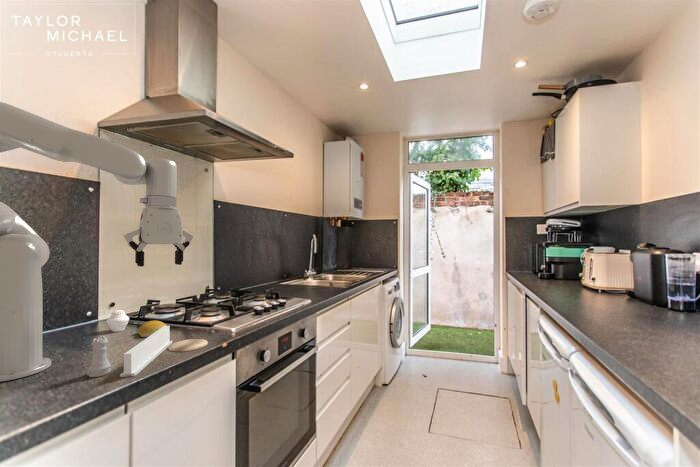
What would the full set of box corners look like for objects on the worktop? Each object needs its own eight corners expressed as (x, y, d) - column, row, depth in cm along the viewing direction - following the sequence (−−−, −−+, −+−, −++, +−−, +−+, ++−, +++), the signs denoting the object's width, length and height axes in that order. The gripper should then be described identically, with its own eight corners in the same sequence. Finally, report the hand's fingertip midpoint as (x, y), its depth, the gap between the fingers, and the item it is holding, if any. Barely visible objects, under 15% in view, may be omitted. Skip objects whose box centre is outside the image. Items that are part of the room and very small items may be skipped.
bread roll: (141, 339, 102) (141, 326, 102) (136, 333, 108) (136, 321, 108) (171, 334, 107) (171, 321, 107) (165, 328, 114) (165, 316, 114)
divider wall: (120, 377, 74) (120, 354, 74) (161, 343, 97) (161, 326, 97) (135, 376, 74) (135, 353, 74) (172, 342, 98) (172, 325, 98)
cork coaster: (162, 353, 89) (162, 351, 89) (175, 341, 99) (175, 340, 99) (202, 350, 91) (202, 348, 91) (211, 339, 101) (211, 338, 101)
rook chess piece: (87, 373, 76) (87, 337, 76) (111, 368, 79) (111, 334, 79) (86, 379, 72) (86, 342, 72) (111, 374, 75) (111, 338, 75)
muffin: (129, 327, 116) (129, 306, 116) (129, 331, 110) (129, 310, 111) (107, 329, 112) (107, 309, 112) (105, 334, 107) (105, 312, 107)
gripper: (129, 199, 85) (128, 267, 84) (198, 205, 98) (197, 264, 97) (120, 202, 90) (119, 266, 89) (187, 207, 103) (186, 263, 102)
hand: (160, 265), depth 93 cm, fingers open, 9 cm apart
